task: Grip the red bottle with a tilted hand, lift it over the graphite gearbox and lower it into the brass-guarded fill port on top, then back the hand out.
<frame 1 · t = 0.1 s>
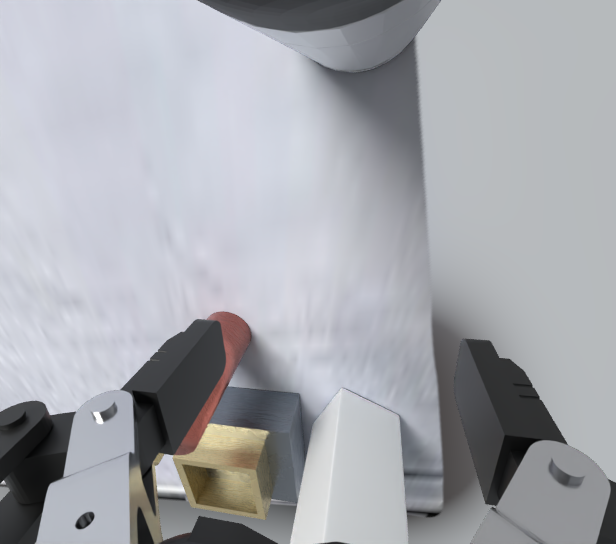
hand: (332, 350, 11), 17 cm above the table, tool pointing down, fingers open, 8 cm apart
milk carton: (354, 416, 38), on the table
gearbox: (246, 423, 41), on the table
red bottle: (228, 331, 35), on the table
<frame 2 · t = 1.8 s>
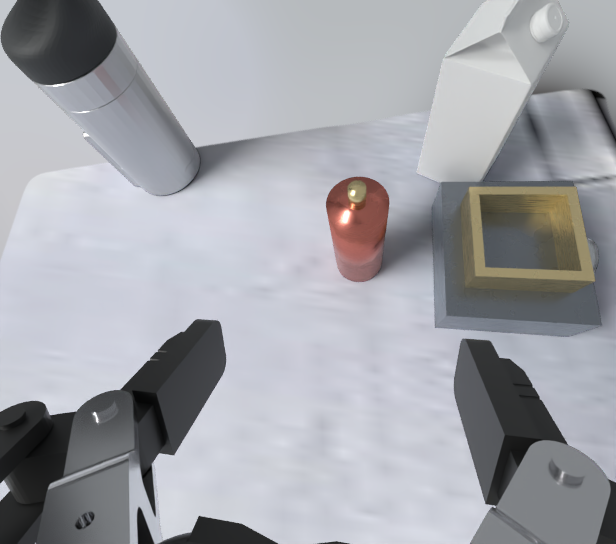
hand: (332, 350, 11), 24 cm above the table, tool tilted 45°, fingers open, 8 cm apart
milk carton: (456, 165, 41), on the table
gearbox: (493, 266, 35), on the table
red bottle: (358, 261, 38), on the table
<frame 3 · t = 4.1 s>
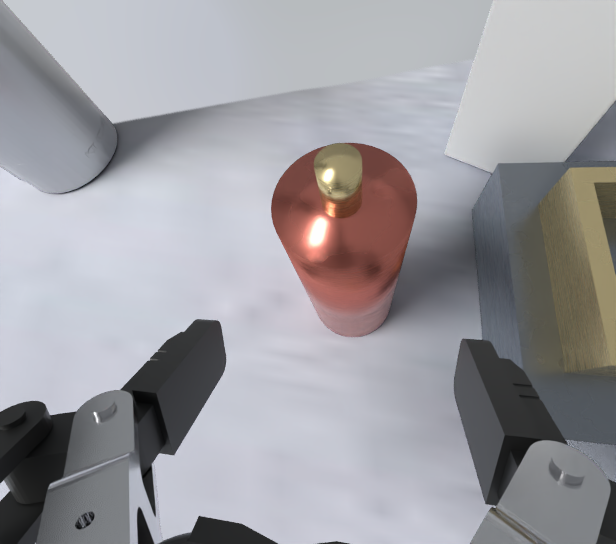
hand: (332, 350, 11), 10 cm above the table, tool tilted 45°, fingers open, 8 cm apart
milk carton: (508, 141, 25), on the table
gearbox: (587, 312, 20), on the table
red bottle: (352, 299, 23), on the table
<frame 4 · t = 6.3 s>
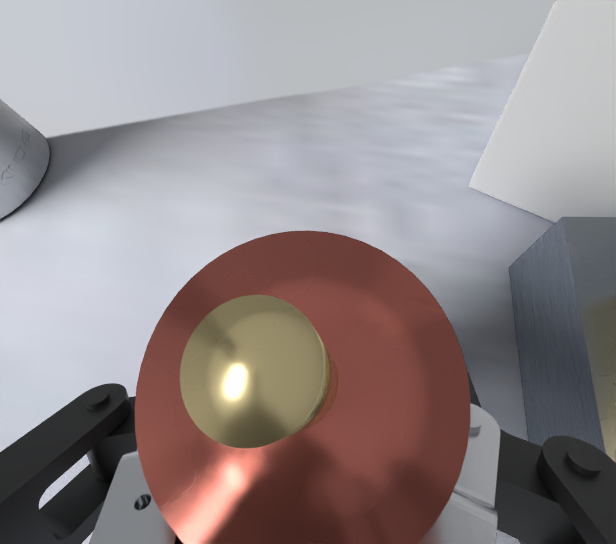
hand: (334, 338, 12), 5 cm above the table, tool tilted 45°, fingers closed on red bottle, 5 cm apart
milk carton: (554, 169, 19), on the table
red bottle: (340, 396, 16), on the table, touching gripper
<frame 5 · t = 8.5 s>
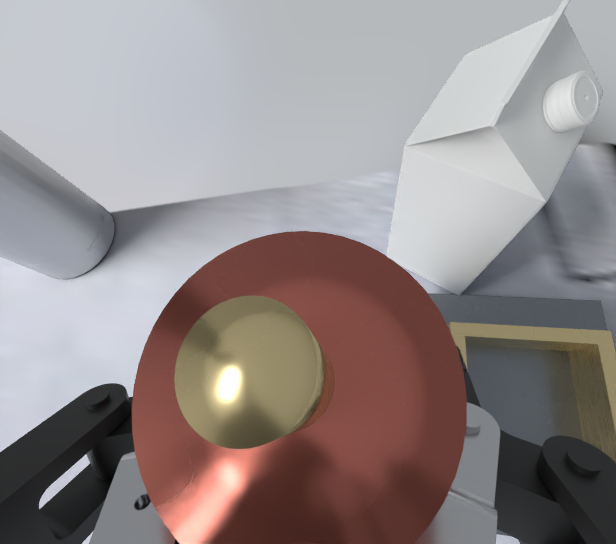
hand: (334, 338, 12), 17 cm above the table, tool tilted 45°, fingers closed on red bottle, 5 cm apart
milk carton: (438, 247, 31), on the table
gearbox: (487, 403, 26), on the table
red bottle: (340, 396, 16), point 12 cm above the table, touching gripper
when the fingers open (12 cm above the table, at t = 10.9 s): red bottle drops 1 cm, resting on gearbox.
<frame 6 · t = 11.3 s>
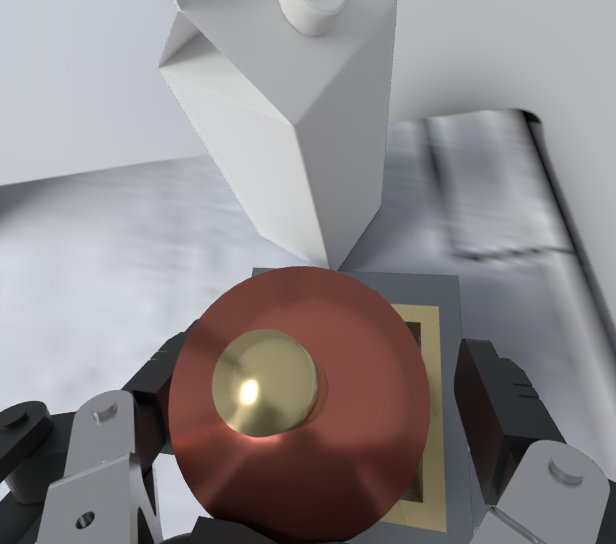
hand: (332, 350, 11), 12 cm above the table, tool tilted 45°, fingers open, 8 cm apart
milk carton: (320, 223, 27), on the table
gearbox: (346, 398, 22), on the table
red bottle: (340, 400, 17), point 5 cm above the table, touching gearbox
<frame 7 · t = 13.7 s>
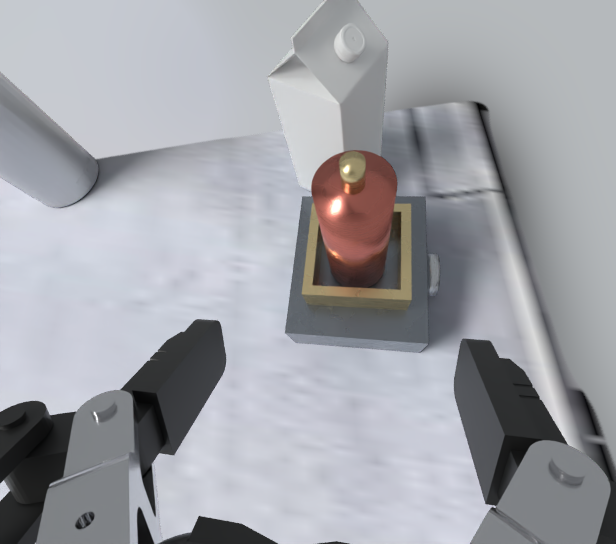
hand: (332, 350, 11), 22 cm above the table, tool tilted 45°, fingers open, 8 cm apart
milk carton: (339, 177, 41), on the table
gearbox: (359, 280, 35), on the table
red bottle: (357, 263, 31), point 5 cm above the table, touching gearbox
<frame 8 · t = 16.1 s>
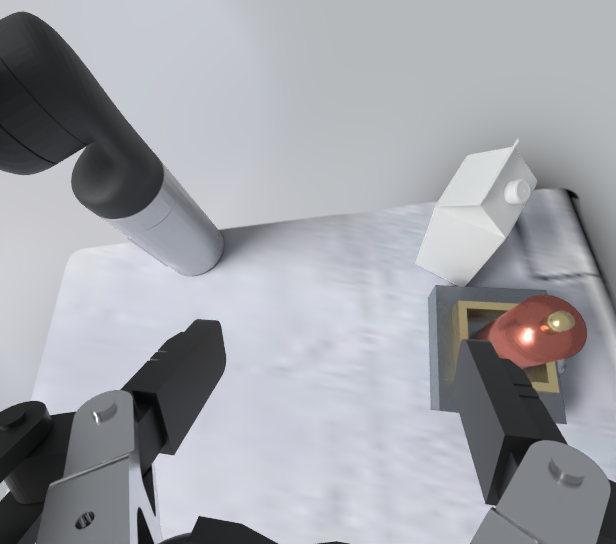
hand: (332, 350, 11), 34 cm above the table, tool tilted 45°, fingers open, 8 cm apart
milk carton: (449, 256, 47), on the table
gearbox: (480, 354, 42), on the table
red bottle: (494, 349, 37), point 5 cm above the table, touching gearbox
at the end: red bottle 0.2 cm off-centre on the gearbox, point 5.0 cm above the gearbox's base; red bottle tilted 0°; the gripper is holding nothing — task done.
